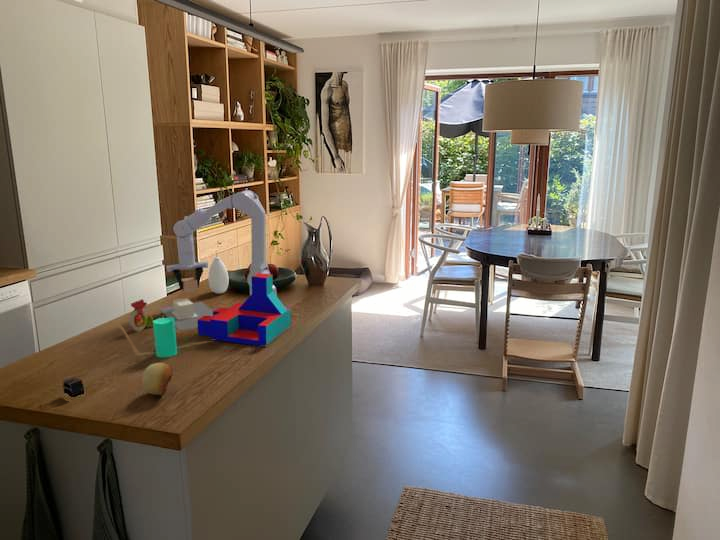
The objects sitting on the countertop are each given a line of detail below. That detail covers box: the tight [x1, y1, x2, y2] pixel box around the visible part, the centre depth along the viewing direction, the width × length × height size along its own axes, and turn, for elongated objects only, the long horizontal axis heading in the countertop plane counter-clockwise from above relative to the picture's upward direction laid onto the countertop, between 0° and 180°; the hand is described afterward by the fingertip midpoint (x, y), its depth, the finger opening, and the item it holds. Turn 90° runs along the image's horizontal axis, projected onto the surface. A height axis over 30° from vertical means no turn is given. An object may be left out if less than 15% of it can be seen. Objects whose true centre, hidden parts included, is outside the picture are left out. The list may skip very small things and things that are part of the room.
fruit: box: [141, 362, 174, 396], centre depth 138 cm, size 8×8×8 cm
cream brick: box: [172, 297, 194, 318], centre depth 200 cm, size 5×9×4 cm, turn 32°
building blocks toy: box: [197, 273, 291, 346], centre depth 180 cm, size 19×25×18 cm
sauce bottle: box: [207, 251, 230, 294], centre depth 227 cm, size 8×8×18 cm
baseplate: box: [159, 301, 214, 332], centre depth 199 cm, size 16×30×1 cm, turn 32°
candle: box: [152, 316, 178, 358], centre depth 164 cm, size 6×6×12 cm
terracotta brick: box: [181, 277, 199, 294], centre depth 208 cm, size 5×5×4 cm
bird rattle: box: [128, 299, 154, 332], centre depth 184 cm, size 6×11×9 cm
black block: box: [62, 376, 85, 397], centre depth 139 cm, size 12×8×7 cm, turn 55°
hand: (189, 288), depth 208 cm, fingers closed on terracotta brick, 5 cm apart
